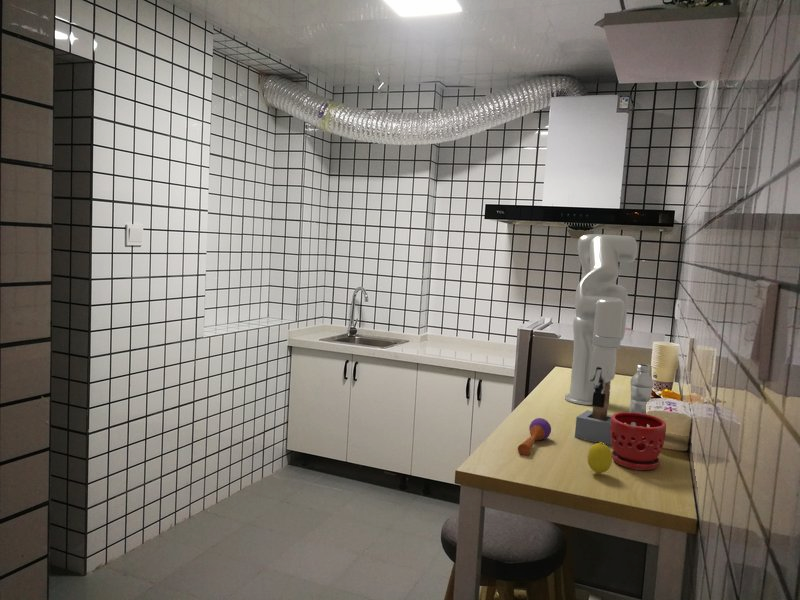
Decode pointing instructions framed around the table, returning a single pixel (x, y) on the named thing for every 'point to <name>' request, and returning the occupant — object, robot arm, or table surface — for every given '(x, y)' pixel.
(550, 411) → the table surface
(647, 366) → the plastic bottle
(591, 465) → the lemon
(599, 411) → the peg
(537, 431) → the purple maraca
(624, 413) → the plant pot
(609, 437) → the socket
